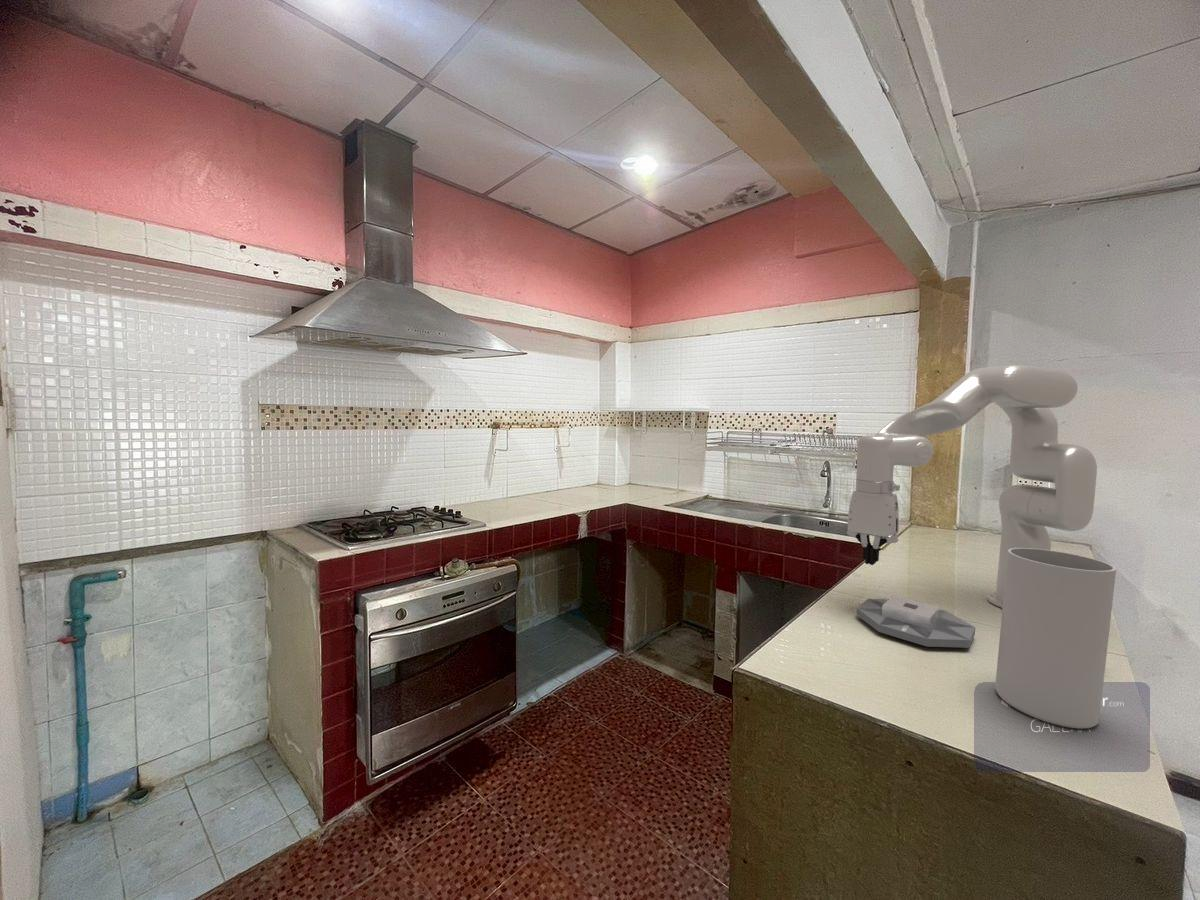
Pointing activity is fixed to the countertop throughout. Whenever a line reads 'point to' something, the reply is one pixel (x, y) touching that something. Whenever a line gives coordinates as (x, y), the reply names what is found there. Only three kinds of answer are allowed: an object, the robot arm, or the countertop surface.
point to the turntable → (941, 633)
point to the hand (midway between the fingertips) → (870, 563)
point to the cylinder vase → (1055, 635)
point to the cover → (910, 612)
